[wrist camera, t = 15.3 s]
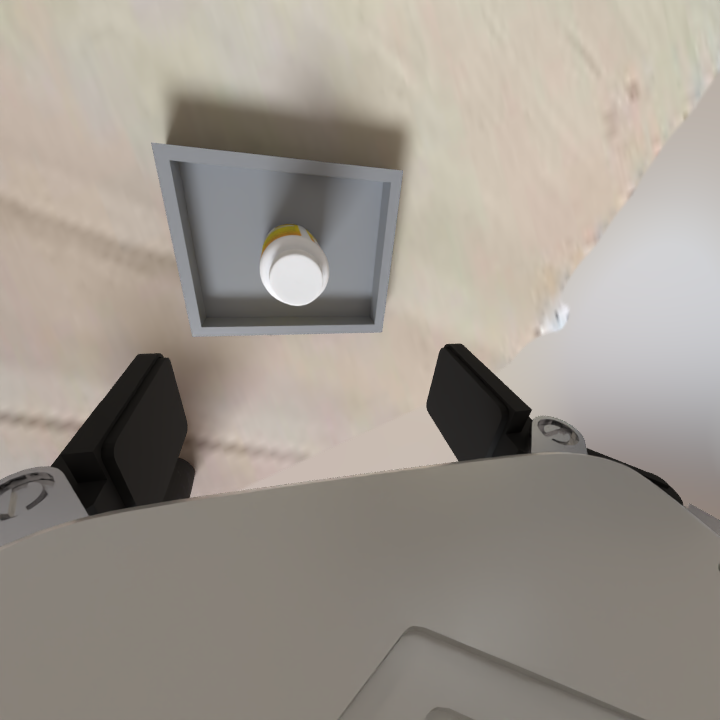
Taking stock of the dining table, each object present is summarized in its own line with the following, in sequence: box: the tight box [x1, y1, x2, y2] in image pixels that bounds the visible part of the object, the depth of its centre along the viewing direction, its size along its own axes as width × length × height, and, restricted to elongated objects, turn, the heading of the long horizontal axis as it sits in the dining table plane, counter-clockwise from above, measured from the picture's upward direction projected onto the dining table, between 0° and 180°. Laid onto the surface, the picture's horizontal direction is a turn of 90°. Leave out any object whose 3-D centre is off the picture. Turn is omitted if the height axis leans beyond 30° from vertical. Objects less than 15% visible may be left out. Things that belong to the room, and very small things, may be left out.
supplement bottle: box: [260, 224, 329, 306], centre depth 27 cm, size 6×6×10 cm
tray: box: [151, 143, 403, 337], centre depth 30 cm, size 16×20×4 cm
